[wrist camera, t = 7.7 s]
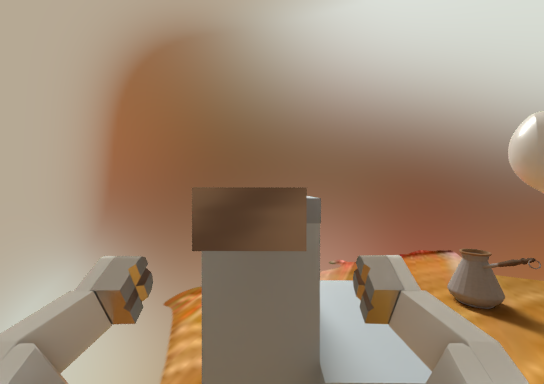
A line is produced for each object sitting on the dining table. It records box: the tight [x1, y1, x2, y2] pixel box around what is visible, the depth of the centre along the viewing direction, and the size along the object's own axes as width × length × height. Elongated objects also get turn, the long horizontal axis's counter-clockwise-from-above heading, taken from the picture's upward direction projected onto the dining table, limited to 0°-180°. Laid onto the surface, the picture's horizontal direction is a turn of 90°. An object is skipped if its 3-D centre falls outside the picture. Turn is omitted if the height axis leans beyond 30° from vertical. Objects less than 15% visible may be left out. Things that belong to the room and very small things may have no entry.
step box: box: [202, 196, 432, 384], centre depth 26 cm, size 17×19×28 cm
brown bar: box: [192, 188, 307, 251], centre depth 21 cm, size 4×22×2 cm, turn 179°
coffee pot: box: [447, 249, 541, 309], centre depth 61 cm, size 21×12×15 cm, turn 0°
